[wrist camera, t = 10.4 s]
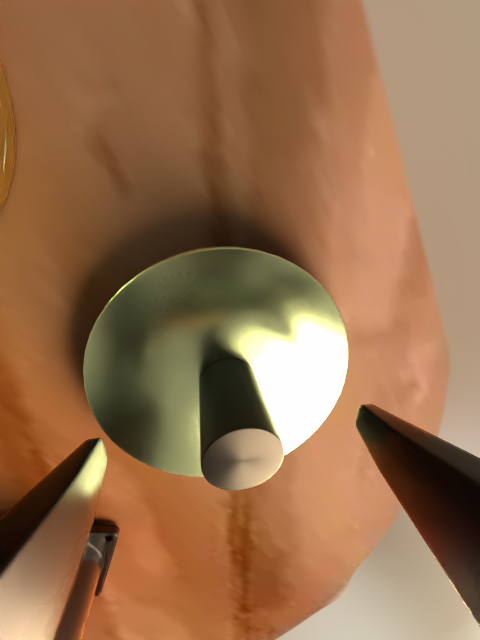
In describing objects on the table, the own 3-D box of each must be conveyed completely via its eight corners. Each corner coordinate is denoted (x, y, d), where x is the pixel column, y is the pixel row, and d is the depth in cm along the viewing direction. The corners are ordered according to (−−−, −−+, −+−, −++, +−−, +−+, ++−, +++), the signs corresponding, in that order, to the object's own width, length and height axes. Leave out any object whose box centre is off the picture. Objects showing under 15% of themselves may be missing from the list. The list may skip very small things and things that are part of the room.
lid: (283, 467, 15) (322, 575, 11) (75, 443, 12) (-4, 583, 7) (375, 293, 12) (494, 336, 7) (123, 197, 9) (36, 159, 4)
